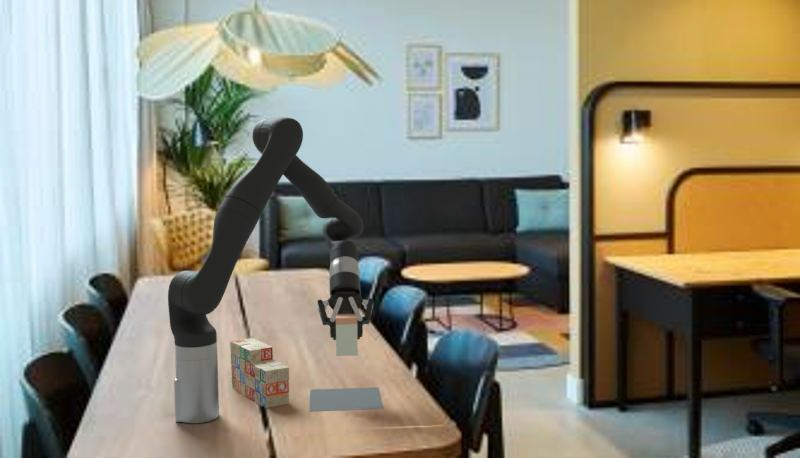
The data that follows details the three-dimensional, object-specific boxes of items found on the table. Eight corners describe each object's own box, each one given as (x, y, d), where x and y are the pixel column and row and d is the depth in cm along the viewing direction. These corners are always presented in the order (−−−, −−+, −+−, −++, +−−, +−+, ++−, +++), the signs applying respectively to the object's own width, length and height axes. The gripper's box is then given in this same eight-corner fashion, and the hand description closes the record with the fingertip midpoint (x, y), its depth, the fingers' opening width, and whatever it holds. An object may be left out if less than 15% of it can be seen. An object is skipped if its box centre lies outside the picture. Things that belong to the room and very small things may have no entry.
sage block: (336, 356, 198) (335, 318, 197) (335, 350, 203) (335, 314, 202) (357, 355, 199) (357, 317, 198) (356, 350, 204) (356, 313, 203)
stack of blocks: (290, 405, 200) (289, 354, 198) (265, 410, 196) (264, 358, 195) (254, 383, 217) (252, 337, 216) (231, 387, 214) (229, 340, 213)
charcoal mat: (309, 413, 193) (309, 411, 193) (310, 391, 210) (310, 389, 210) (383, 410, 195) (383, 408, 195) (378, 388, 212) (378, 387, 212)
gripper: (315, 270, 206) (315, 330, 195) (374, 269, 207) (377, 328, 196) (315, 288, 211) (316, 347, 201) (372, 287, 213) (376, 345, 202)
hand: (346, 337), depth 199 cm, fingers closed on sage block, 5 cm apart
